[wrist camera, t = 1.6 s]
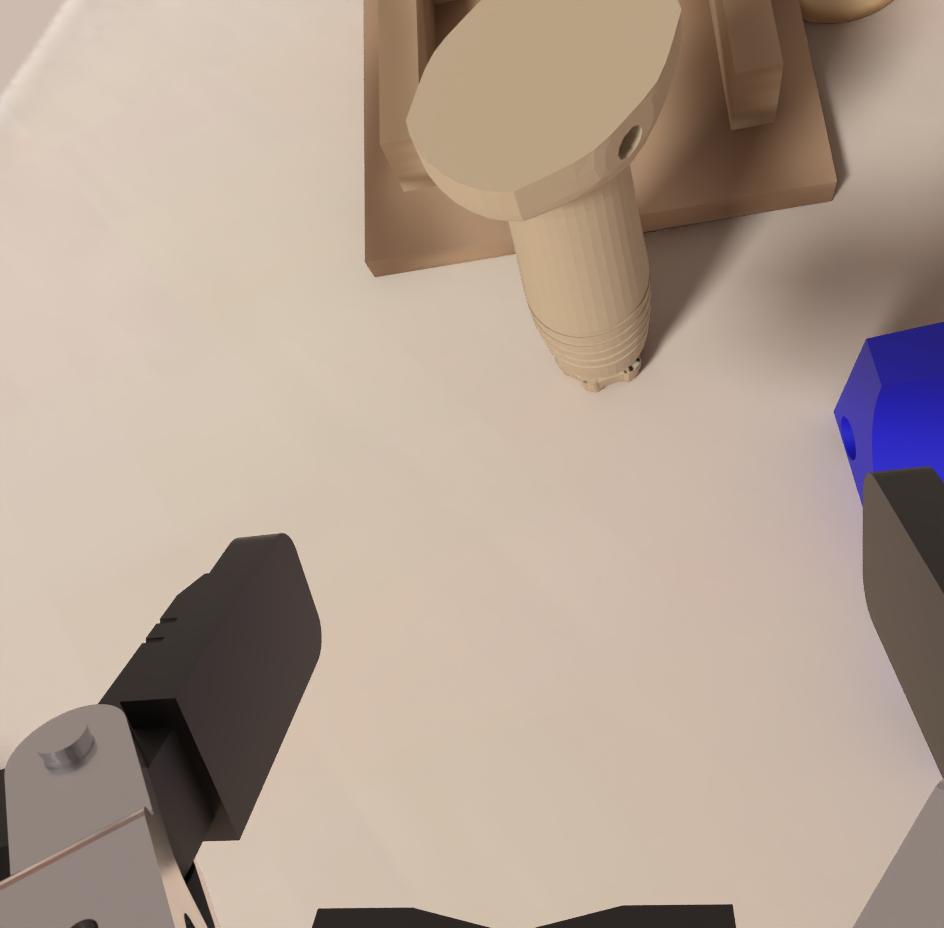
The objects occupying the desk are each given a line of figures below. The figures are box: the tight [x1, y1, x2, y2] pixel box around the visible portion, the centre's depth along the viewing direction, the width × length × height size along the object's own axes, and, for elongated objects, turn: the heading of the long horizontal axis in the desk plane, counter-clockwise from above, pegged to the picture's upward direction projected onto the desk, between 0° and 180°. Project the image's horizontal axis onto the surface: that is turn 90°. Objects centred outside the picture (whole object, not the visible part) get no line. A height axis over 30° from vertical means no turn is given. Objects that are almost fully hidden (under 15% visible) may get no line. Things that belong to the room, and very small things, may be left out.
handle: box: [406, 0, 682, 392], centre depth 25 cm, size 5×6×15 cm
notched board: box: [364, 0, 837, 277], centre depth 34 cm, size 18×14×4 cm
